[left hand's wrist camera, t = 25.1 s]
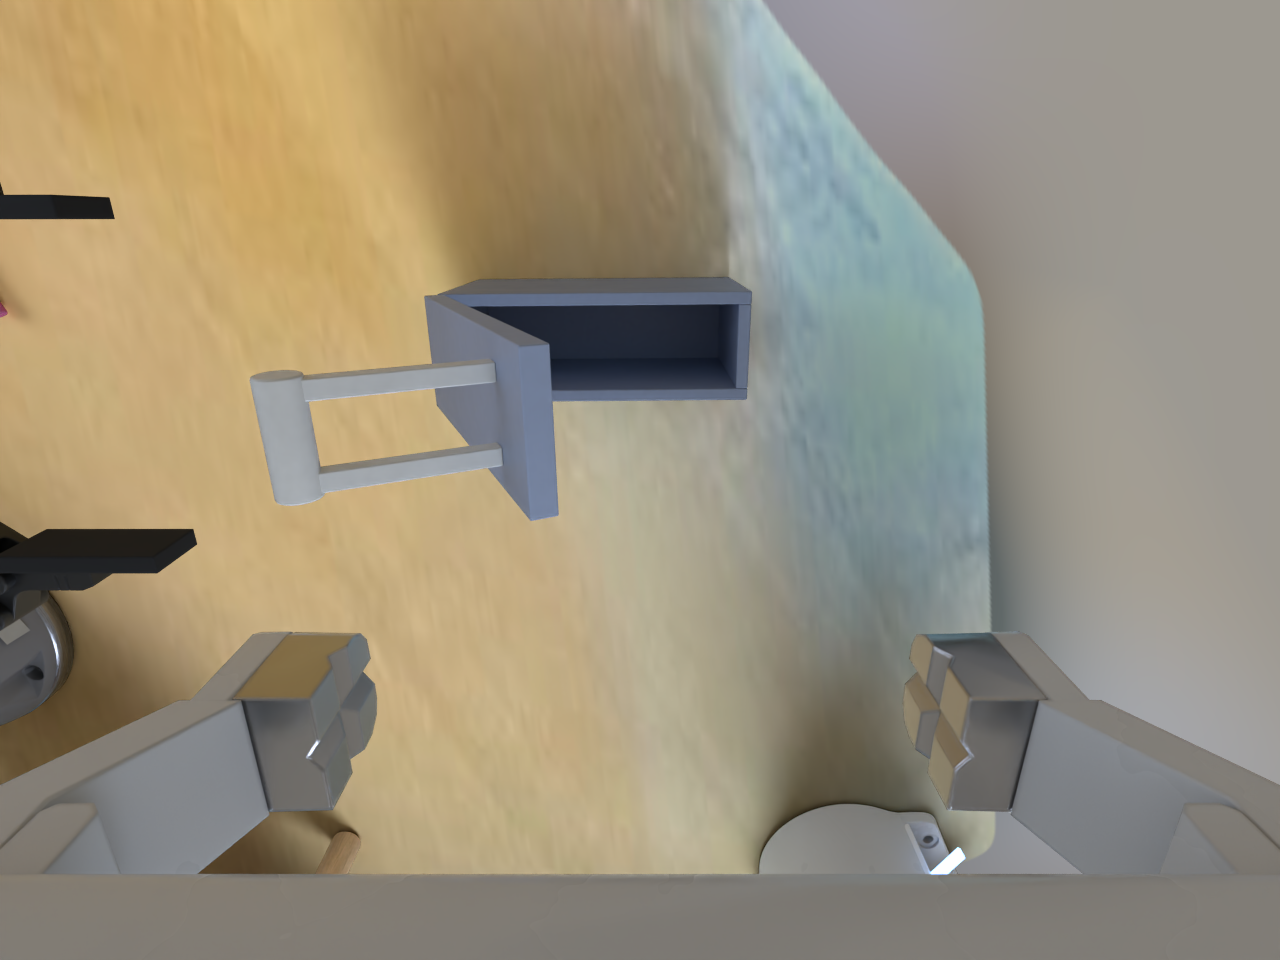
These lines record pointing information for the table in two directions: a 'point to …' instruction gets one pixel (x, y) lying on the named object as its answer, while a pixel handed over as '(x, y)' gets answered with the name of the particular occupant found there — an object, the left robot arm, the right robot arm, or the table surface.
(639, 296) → the chest
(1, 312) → the pencil
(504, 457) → the lid
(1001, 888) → the left robot arm
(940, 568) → the table surface
